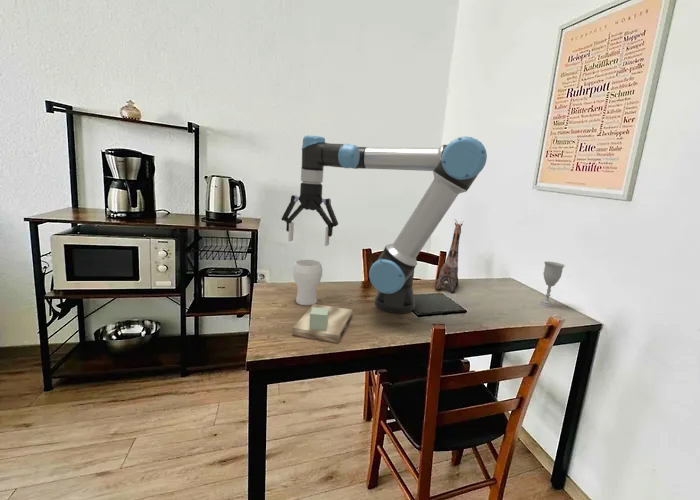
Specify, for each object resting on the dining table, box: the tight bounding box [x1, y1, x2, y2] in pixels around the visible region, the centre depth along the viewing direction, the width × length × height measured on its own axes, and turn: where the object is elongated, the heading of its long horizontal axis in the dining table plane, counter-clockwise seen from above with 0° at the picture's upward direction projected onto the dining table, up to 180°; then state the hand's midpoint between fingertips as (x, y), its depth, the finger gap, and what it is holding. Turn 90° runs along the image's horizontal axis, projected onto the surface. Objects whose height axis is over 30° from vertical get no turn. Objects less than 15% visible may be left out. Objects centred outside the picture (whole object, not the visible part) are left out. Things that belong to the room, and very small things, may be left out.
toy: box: [434, 219, 463, 294], centre depth 157 cm, size 9×26×30 cm, turn 156°
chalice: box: [538, 260, 566, 309], centre depth 144 cm, size 7×7×18 cm
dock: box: [292, 303, 354, 344], centre depth 113 cm, size 14×20×2 cm
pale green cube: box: [309, 307, 329, 331], centre depth 106 cm, size 5×5×5 cm
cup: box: [292, 258, 323, 306], centre depth 130 cm, size 11×11×15 cm
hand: (308, 243), depth 127 cm, fingers open, 13 cm apart
